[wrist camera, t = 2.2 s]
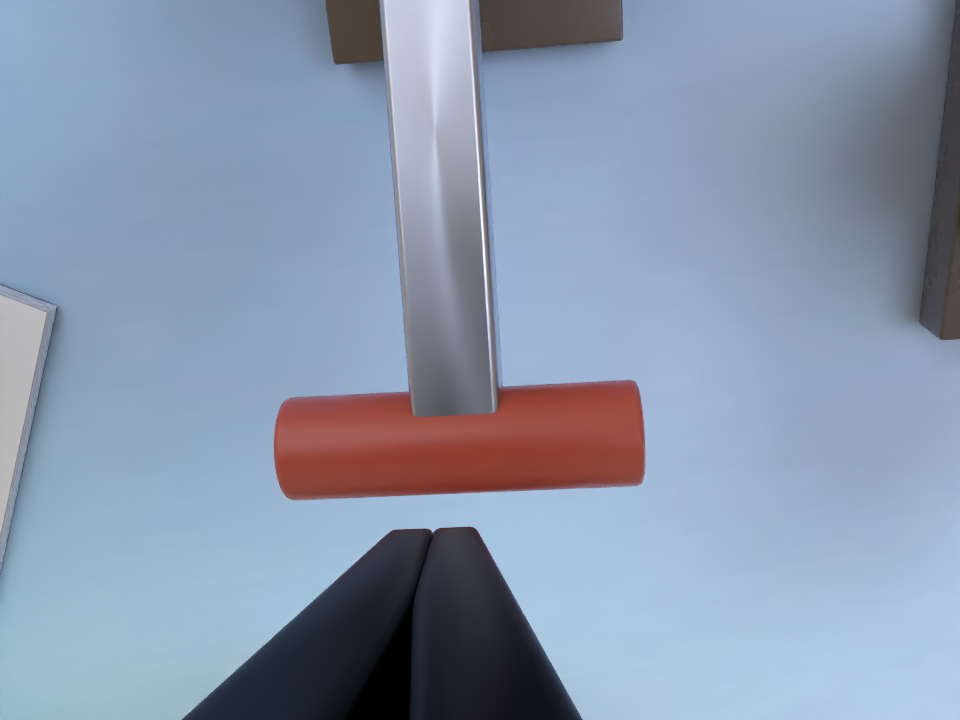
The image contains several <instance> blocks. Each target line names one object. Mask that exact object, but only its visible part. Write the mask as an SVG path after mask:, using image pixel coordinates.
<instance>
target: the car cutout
mask: <svg viewBox="0 0 960 720" xmlns="http://www.w3.org/2000/svg"><path fill="white" fill-rule="evenodd" d="M56 308H57V306H55V305H52V304H50V303H47V302H44V301H42V300H39V299H36V298H34V297H31V296H28V295H26V294H23V293H21V292H18V291H15V290H13V289H10V288H7V287H5V286H2V285H0V571H1V567H2V562H3V557H4V553H5V548H6V543H7V539H8V534H9V529H10V524H11V520H12V515H13V510H14V506H15V501H16V496H17V492H18V487H19V482H20V477H21V473H22V468H23V463H24V459H25V454H26V449H27V445H28V440H29V435H30V431H31V426H32V421H33V416H34V412H35V407H36V402H37V398H38V393H39V388H40V384H41V379H42V374H43V369H44V365H45V360H46V355H47V351H48V346H49V341H50V337H51V332H52V327H53V322H54V318H55V313H56Z"/></svg>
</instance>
